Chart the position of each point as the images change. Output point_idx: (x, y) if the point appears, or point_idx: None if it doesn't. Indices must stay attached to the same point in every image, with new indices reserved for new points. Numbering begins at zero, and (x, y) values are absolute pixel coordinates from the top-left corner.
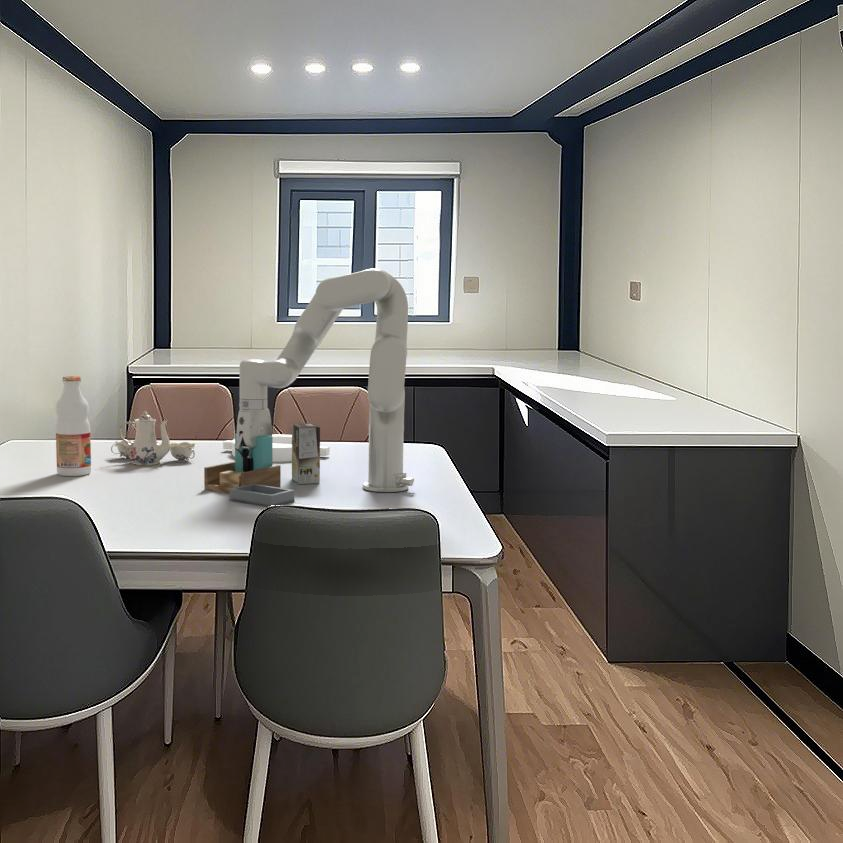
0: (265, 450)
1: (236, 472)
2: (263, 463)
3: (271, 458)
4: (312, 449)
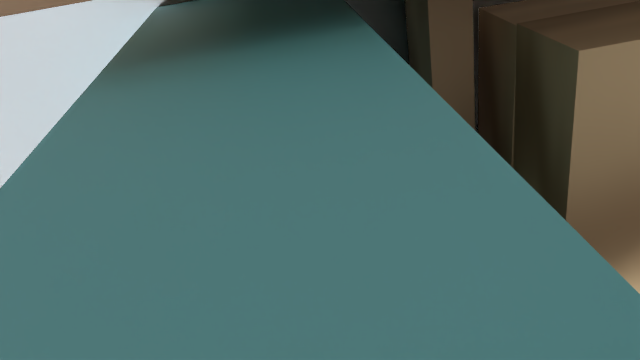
0: (357, 183)
1: (612, 211)
2: (369, 47)
3: (88, 123)
4: None
